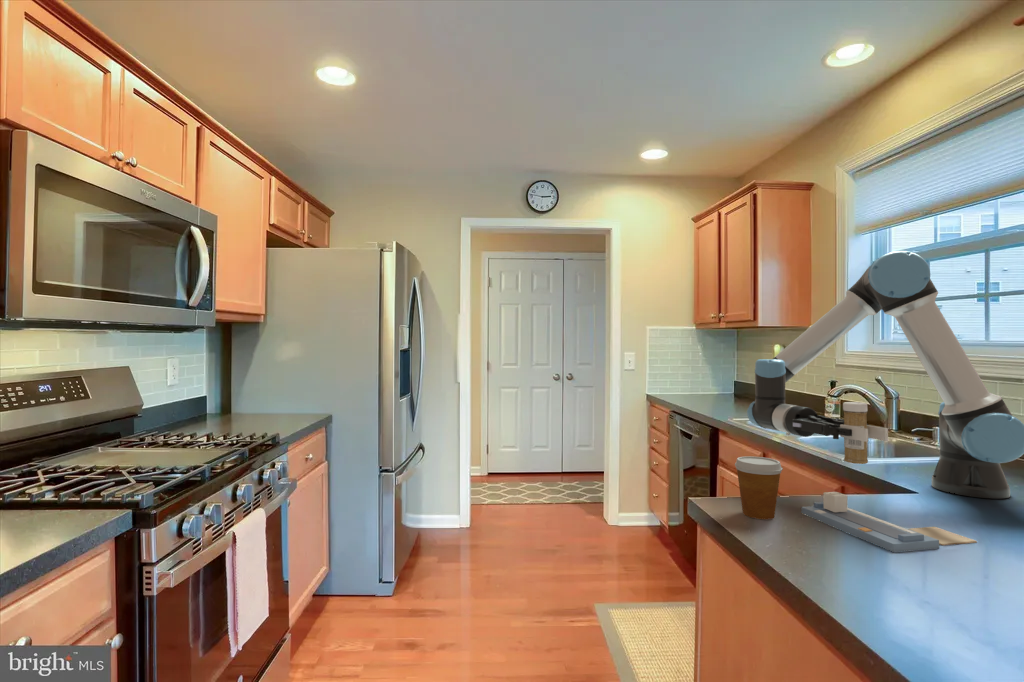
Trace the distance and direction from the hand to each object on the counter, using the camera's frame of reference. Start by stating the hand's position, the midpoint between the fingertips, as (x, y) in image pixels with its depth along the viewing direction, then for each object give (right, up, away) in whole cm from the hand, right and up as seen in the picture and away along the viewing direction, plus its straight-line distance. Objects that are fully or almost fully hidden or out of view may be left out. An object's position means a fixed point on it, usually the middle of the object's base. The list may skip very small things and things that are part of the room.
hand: (876, 434), depth 109 cm
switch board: (-7, -18, -6) cm, 20 cm away
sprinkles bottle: (-1, -7, +5) cm, 9 cm away
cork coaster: (+5, -18, -10) cm, 21 cm away
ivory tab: (-8, -16, +1) cm, 18 cm away
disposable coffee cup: (-24, -18, +3) cm, 30 cm away
